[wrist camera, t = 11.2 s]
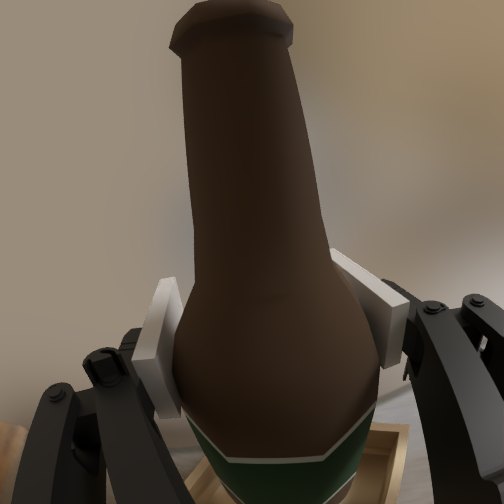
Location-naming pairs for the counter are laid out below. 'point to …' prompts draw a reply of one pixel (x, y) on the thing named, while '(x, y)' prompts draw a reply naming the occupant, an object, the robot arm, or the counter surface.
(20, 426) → the counter surface
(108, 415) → the robot arm
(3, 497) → the counter surface
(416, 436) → the counter surface
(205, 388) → the beer bottle
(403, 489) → the counter surface
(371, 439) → the top crate
